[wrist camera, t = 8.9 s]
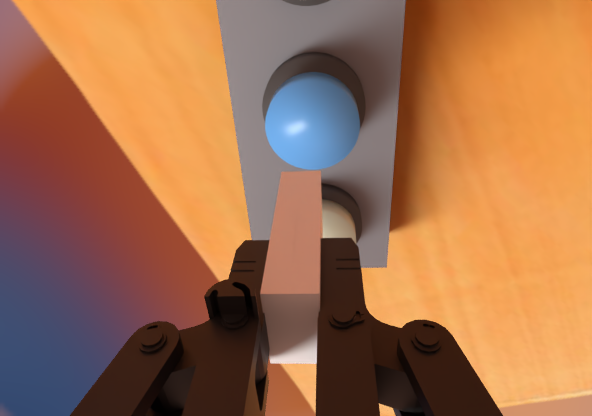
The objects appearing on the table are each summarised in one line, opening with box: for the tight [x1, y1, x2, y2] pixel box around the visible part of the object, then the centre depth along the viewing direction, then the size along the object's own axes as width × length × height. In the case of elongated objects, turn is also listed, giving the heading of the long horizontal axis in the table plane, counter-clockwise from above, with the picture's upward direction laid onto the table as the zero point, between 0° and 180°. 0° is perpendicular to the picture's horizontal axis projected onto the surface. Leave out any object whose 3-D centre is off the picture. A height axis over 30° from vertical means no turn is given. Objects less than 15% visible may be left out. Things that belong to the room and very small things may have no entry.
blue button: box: [265, 72, 360, 170], centre depth 23 cm, size 5×5×2 cm
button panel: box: [216, 0, 406, 268], centre depth 27 cm, size 10×26×5 cm, turn 3°
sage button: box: [322, 199, 356, 243], centre depth 29 cm, size 5×5×2 cm
